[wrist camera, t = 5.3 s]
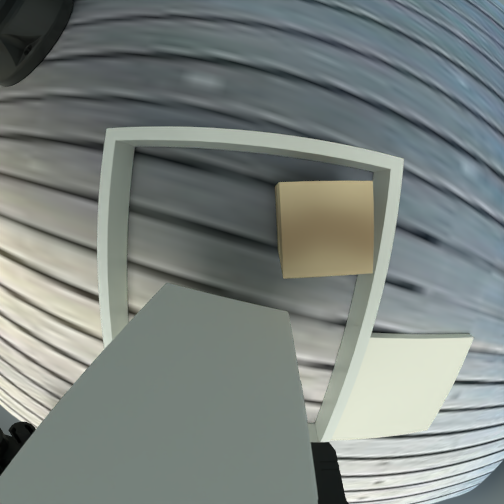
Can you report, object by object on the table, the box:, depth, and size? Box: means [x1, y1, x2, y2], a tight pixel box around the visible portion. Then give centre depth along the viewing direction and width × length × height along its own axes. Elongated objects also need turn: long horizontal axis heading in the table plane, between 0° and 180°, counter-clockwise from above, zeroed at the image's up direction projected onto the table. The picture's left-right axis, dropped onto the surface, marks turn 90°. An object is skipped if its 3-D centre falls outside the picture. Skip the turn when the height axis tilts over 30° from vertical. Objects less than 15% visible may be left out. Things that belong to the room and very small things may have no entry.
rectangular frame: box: [97, 127, 404, 443], centre depth 22 cm, size 28×22×4 cm
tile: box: [331, 333, 474, 440], centre depth 25 cm, size 14×14×1 cm
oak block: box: [275, 181, 374, 279], centre depth 18 cm, size 5×5×8 cm
